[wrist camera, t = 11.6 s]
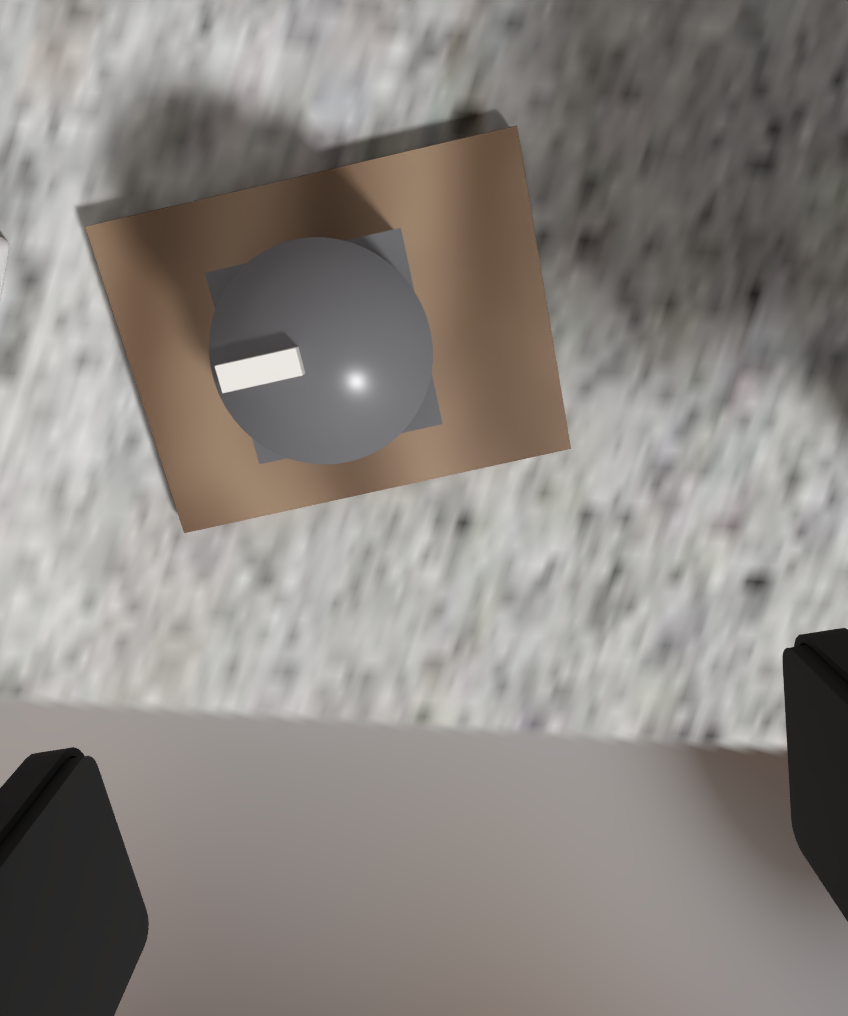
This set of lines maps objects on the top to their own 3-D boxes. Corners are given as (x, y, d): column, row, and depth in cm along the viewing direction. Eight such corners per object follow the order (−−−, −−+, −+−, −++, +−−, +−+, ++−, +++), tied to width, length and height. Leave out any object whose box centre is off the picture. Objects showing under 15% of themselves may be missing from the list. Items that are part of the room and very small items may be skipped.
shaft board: (513, 131, 28) (538, 94, 23) (565, 443, 31) (598, 475, 26) (95, 228, 29) (26, 214, 23) (190, 525, 32) (148, 572, 27)
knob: (405, 231, 28) (405, 211, 21) (442, 406, 30) (454, 442, 23) (231, 271, 28) (173, 265, 21) (278, 442, 30) (240, 489, 23)
